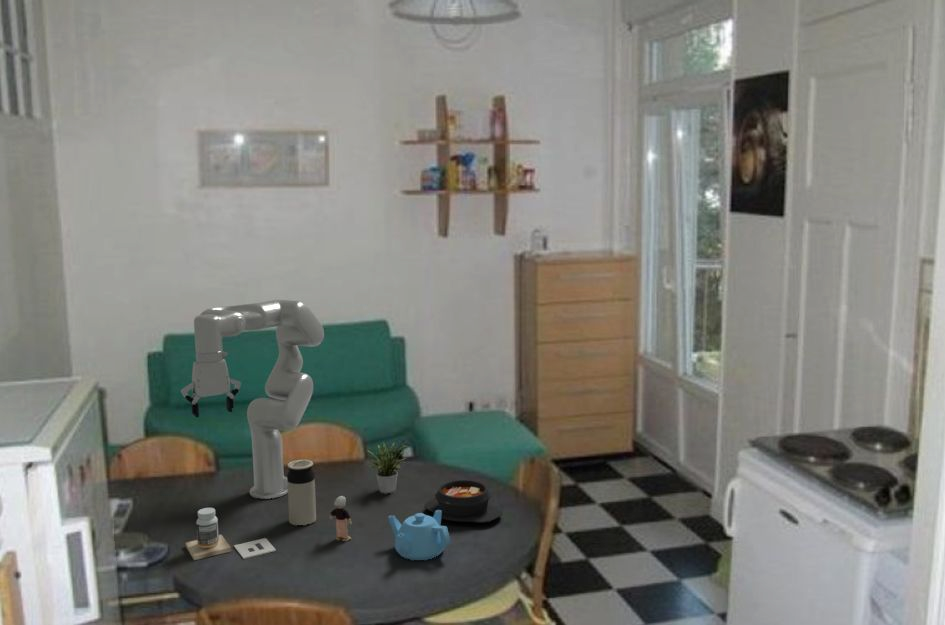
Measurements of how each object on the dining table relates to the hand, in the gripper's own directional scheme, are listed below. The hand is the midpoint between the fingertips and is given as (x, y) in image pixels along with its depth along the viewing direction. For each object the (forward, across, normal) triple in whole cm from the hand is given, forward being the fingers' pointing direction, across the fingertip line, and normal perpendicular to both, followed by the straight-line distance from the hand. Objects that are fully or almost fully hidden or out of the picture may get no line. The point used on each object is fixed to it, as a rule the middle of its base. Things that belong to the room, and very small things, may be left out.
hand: (213, 413), depth 246 cm
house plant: (+34, -54, +7) cm, 64 cm away
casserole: (+34, -64, +36) cm, 81 cm away
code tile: (+33, -3, +25) cm, 42 cm away
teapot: (+34, -41, +51) cm, 74 cm away
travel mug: (+34, -21, +14) cm, 42 cm away
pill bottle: (+32, +8, +18) cm, 38 cm away
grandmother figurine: (+34, -26, +32) cm, 53 cm away
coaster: (+33, +8, +18) cm, 39 cm away
